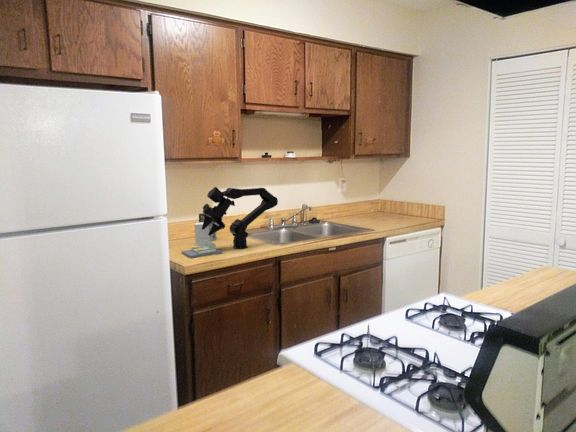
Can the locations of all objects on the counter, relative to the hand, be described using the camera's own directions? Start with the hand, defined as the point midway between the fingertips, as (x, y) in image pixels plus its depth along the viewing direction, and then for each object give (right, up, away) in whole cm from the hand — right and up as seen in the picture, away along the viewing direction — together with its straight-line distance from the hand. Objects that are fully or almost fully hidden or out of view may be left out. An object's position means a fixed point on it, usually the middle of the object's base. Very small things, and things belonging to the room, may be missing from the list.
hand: (205, 232), depth 222 cm
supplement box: (-6, -8, +21) cm, 24 cm away
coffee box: (-5, -6, +35) cm, 36 cm away
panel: (-1, -10, 0) cm, 10 cm away
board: (-2, -11, 0) cm, 11 cm away
